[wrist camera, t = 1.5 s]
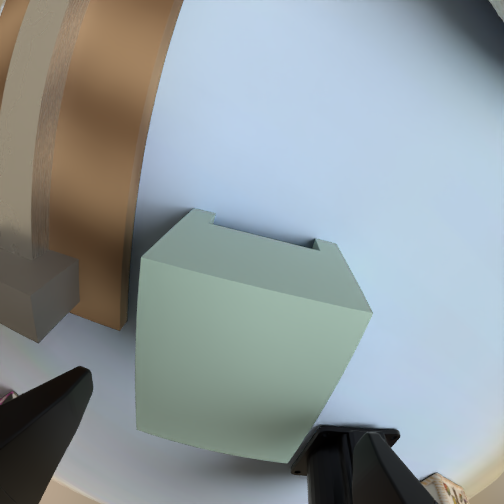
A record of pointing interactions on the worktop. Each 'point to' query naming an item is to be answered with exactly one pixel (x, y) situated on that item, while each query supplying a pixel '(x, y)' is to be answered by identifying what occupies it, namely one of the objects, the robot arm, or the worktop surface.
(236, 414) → the block
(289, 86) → the worktop surface
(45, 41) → the metal rail
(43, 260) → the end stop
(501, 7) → the cereal bowl
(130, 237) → the mounting board
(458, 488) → the decorative jar
